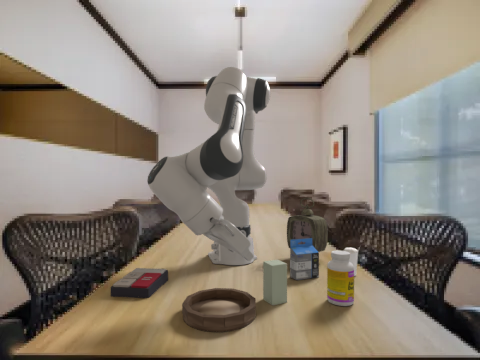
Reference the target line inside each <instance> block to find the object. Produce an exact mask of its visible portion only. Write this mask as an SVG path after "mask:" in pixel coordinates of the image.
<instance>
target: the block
mask: <svg viewBox="0 0 480 360" xmlns="http://www.w3.org/2000/svg"><path fill="white" fill-rule="evenodd" d="M262 266H263V267H262V272H263V273H262V275H263V276H262V279H263V280H262V281H263V282H262V291H263V292H262V297H263V300H264V301H265V302H266V303H268V304H270V305H271V306H276V305H281V304H284V303H285V304H286V303H288V263H286V262H284V261H282V260H279V259H272V260H270V259H269V260H265V261H262Z"/></svg>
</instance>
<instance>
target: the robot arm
mask: <svg viewBox="0 0 480 360" xmlns="http://www.w3.org/2000/svg"><path fill="white" fill-rule="evenodd" d="M206 83H207V84H206V86H205V100H204V104H203V105H204V106H203V108H204V112H205V114H206V115H207V117H208V119H210V120H211V121H212V122H213V123H215V124H217V125H218V127H217V131H216V132H215V133H213V135H211V136H209V137H208V138H207V139H206V140H205V141H204V142H202V143H201V144H199V145H198V146H197V147H195V148H193V149H191V150H190V151H189V152H186V153H184V154H179V155H176V156H164V157H162V158H161V159H160V160H158V161H157V163H156V164H155V165H154V166H153V167H152V169H150V172H149V173H148V176H147V184H148V185H147V186H148V187H149V189H150V191H152V193H153V194H154V195H155V197H156V198H157V199H159V201H160V202H161V203H162V204H163V205H164V206H165V207H166V208H167V209H168V210H170V211H172V212H174V213H175V214H176V215H177V216H178V218H179V220H180V221H181V222H182V223H183V224H184V225H185V226H186V227H187V228H188V229H189V230H190V231H191V232H193V234H195V236H201V235H203V236H205V237H206V238H207V239H209V240H211V241H213V243H211V244H210V245H211V246H210V248H211V250H213V251H209V252H208V253H207V255H208V258H209V259H210V261H211V262H212V264H214V265H215V264H216V265H226V266H243V265H249V264H252V263H253V262H254V260H256V259H258V258H257V257H258V256H257V255H256V254H255V250H254V249H255V247H254V239H253V237H251V234H252V233H251V232H252V231H251V230H252V227H251V224H250V207H249V204H248V203H247V201H245V200H243V199H241V198H239V197H237V195H236V191H251V190H257V189H261V188H263V187H264V186H265V184H266V182H267V179H268V173H267V170H266V168H265V167H264V165H263V164H261V162H260V161H258V159H257V156H256V155H255V151H254V137H255V136H254V135H255V124H256V121H255V120H256V114H259V112H262V111H263V110H265V108H267V107H268V104H269V102H270V101H271V100H270V99H271V88H270V84H269V83H268V81H267V80H266V79H263V78H260V77H257V78H255V77H249V76H246V74H245V73H244V72H243V71H242V70H241V69H240V68H238V67H234V66H228V67H225V68H222V70H221V71H220V72H219V73H218V74H217V75H215V76H212V77H211V78H209V79H208V81H207V82H206ZM207 189H209V190H211V192H212V193H214V194H215V196H216V197H217V199H218V202H217V200H215V199H214V198H213V197H212V195H211V194H209V192H207Z"/></svg>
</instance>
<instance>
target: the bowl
mask: <svg viewBox="0 0 480 360" xmlns="http://www.w3.org/2000/svg"><path fill="white" fill-rule="evenodd" d="M181 307H182V308H181V309H182V311H181V314H182V319H183V322H184V323H185V324H186V325H188V326H189V327H190V328H193V329H195V330H198V331H203V332H209V333H225V332H226V333H227V332H232V331H236V330H240V329H243V328H245V327H247V326H249V325H250V324H252V322H254V320H255V318H256V315H257V313H256V309H257V308H256V297H254V296H253V295H252V294H250V292H248V291H243V290H241V289H236V288H228V287H227V288H226V287H225V288H224V287H215V288H208V289H203V290H198V291H196V292H194V293H191V294H190V295H187V296H186V297H185V299H184V300H183V302H182V303H181Z"/></svg>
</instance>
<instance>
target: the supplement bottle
mask: <svg viewBox="0 0 480 360" xmlns="http://www.w3.org/2000/svg"><path fill="white" fill-rule="evenodd" d="M330 256H331V260H329V261H328V262H327V264H326V265H327V268H326V273H327V274H326V275H327V277H326V280H327V281H326V283H327V284H326V289H327V291H326V293H327V295H326V296H327V297H326V298H327V301H328V303H330V304H332V305H335V306H339V307H350V306H352V305H353V304H354V302H355V276H354V266H353V264H352V263H351V262H349V259H350V253H349V252H347V251H344V250H337V249H336V250H332V251H330Z"/></svg>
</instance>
